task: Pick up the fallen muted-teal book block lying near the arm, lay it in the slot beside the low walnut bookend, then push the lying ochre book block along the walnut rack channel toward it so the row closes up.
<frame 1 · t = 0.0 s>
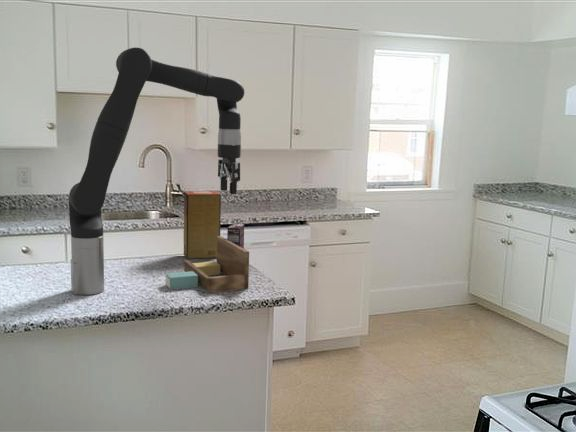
hand: (228, 192, 193), 29 cm above the countertop, fingers open, 8 cm apart
ochre book block: (205, 274, 203), resting in book rack
book block: (181, 286, 187), on the countertop
book rack: (218, 279, 196), on the countertop
supplement box: (235, 269, 210), on the countertop
food packaging: (201, 256, 228), on the countertop
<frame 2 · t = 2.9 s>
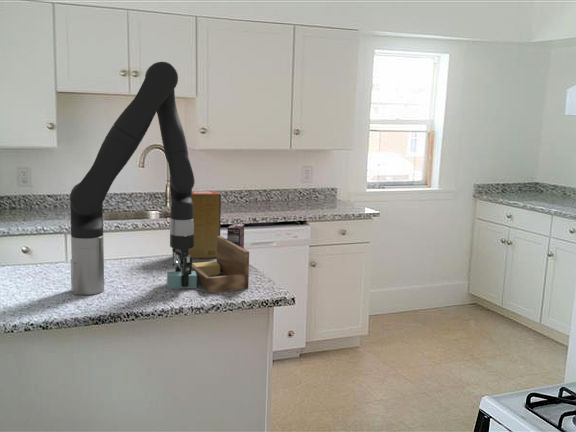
hand: (181, 283, 187), 1 cm above the countertop, fingers closed on book block, 6 cm apart
book block: (181, 285, 187), on the countertop, touching gripper
everything else where it was.
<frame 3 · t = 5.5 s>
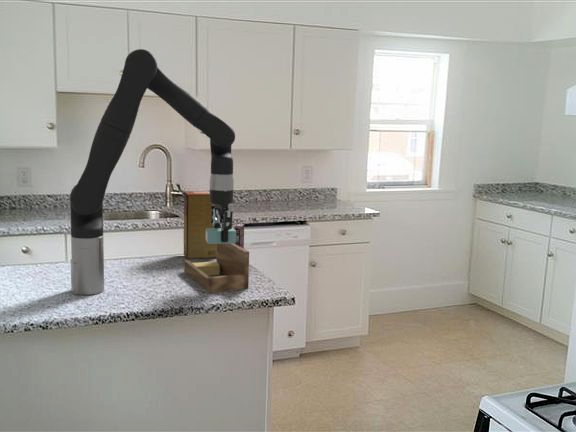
hand: (220, 239, 187), 15 cm above the countertop, fingers closed on book block, 6 cm apart
book block: (220, 241, 187), point 14 cm above the countertop, touching gripper
everything else where it was.
when the fingers open (2 cm above the countertop, at t = 7.9 s): book block drops 2 cm, resting in book rack.
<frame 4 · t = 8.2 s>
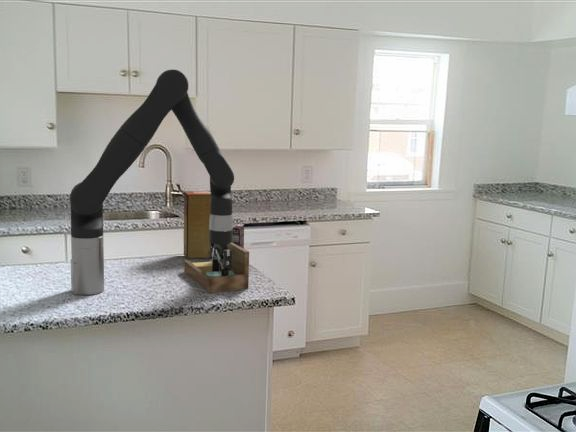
hand: (220, 276, 189), 3 cm above the countertop, fingers open, 8 cm apart
book block: (220, 285, 190), resting in book rack
everything else where it was.
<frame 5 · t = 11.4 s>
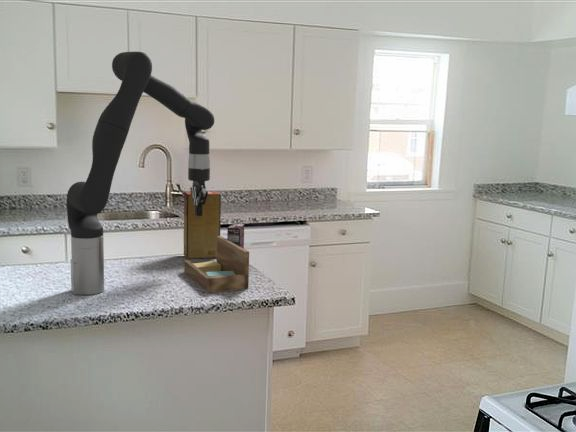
hand: (198, 215, 207), 19 cm above the countertop, fingers closed
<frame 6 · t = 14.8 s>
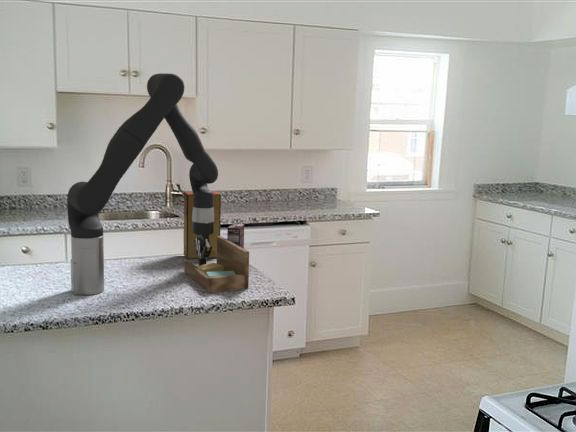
hand: (202, 268, 205), 1 cm above the countertop, fingers closed
ochre book block: (208, 275, 201), resting in book rack, touching gripper
everything else where it was.
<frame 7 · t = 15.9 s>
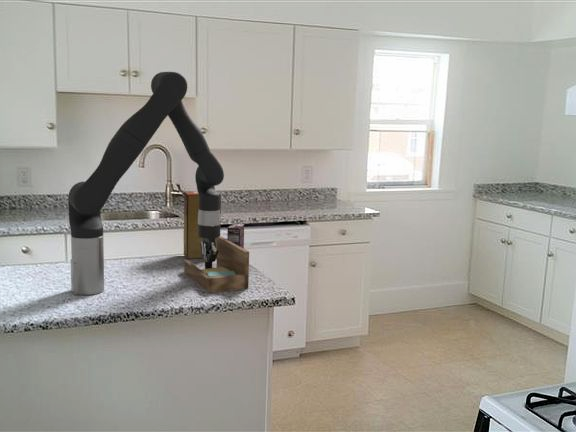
hand: (208, 272, 200), 1 cm above the countertop, fingers closed
ochre book block: (214, 280, 196), resting in book rack, touching gripper
everything else where it was.
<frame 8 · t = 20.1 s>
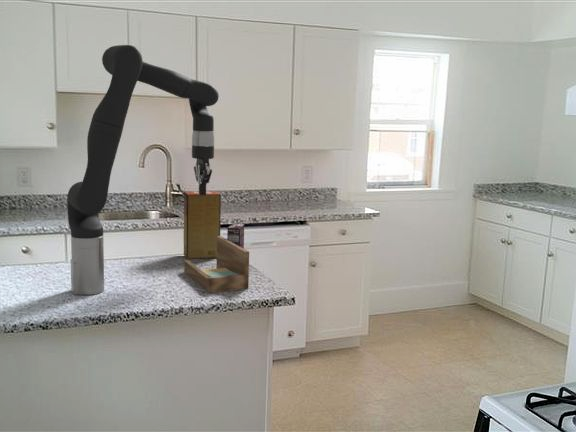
hand: (202, 194, 202), 27 cm above the countertop, fingers closed
ochre book block: (215, 281, 195), resting in book rack
at the end: book block inside the target area (0.3 cm from its centre), resting in book rack; ochre book block inside the target area (0.6 cm from its centre), resting in book rack; ochre book block 6.4 cm from the book block (horizontally) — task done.
